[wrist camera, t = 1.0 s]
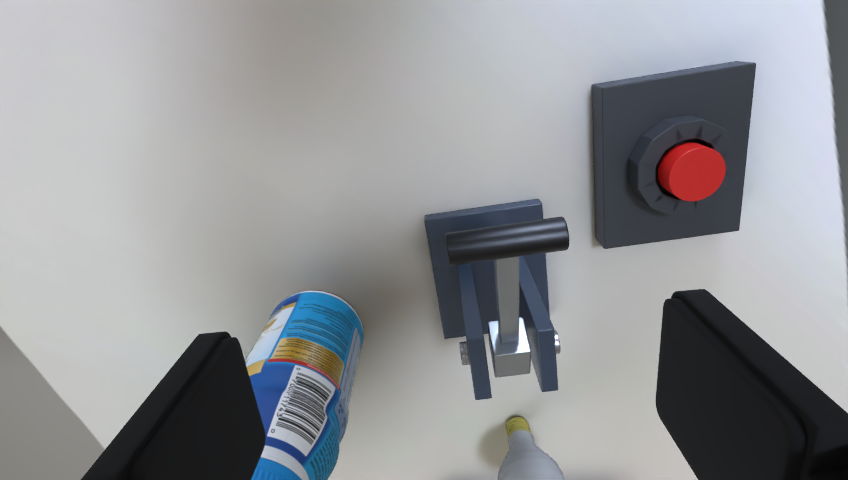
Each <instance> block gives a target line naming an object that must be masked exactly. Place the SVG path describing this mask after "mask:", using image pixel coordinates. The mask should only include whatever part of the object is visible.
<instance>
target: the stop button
mask: <svg viewBox="0 0 848 480" xmlns="http://www.w3.org/2000/svg"><path fill="white" fill-rule="evenodd" d="M725 172H726V166H725V161H724V159H723V157H722V156H721V155H720V154H719V153H718V152H717V151H715V150H714V149H711V148H709V147H706V146H704V145H701V144H699V143H695V142H686V143H681V144H679V145H676V146H675V147H673V148H671V149H670V150H669V151H668V152H667V153H666V154H665V155H664V156H663V158H662V159H661V161H660V164H659V167H658V179H659V182H660V184H661V185H662V187H663V188H664V189H666V190H667V191H669V192H670V193H672V194H673V195H675V196H676V197H678V198H679V199H682V200H685V201H698V200H702V199H704V198H706V197H708V196H710V195H711V194H713V193H714V192H715V191H716V190H717V189H718V188H719V186H720V185H721V183H722V182H723V179H724V177H725Z"/></svg>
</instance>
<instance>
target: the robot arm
mask: <svg viewBox="0 0 848 480" xmlns="http://www.w3.org/2000/svg"><path fill="white" fill-rule="evenodd" d="M656 408H657V412H658V414H659V417H660V419H661V420H662V422H663V424H664V425H665V427H666V429H667V430H668V432H669V433H670V435H671V437H672V438H673V440H674V441H675V443H676V445H677V446H678V448H679V449H680V451H681V453H682V454H683V456H684V457H685V459H686V461H687V462H688V464H689V465H690V467H691V469H692V470H693V472H694V473H695V475H696V477H697V478H698V480H848V413H847V412H846V411H844V410H843V409H842V408H841V407H840V406H839V405H837V404H836V403H835V402H834V401H833V400H832V399H831V398H829V397H828V396H827V395H826V394H825V393H824V392H823V391H821V390H820V389H819V388H818V387H817V386H816V385H815V384H813V383H812V382H811V381H810V380H809V379H808V378H807V377H805V376H804V375H803V374H802V373H801V372H800V371H799V370H797V369H796V368H795V367H794V366H793V365H792V364H790V363H789V362H788V361H787V360H786V359H785V358H784V357H782V356H781V355H780V354H779V353H778V352H777V351H776V350H774V349H773V348H772V347H771V346H770V345H769V344H768V343H766V342H765V341H764V340H763V339H762V338H761V337H760V336H758V335H757V334H756V333H755V332H754V331H753V330H751V329H750V328H749V327H748V326H747V325H746V324H745V323H743V322H742V321H741V320H740V319H739V318H738V317H737V316H735V315H734V314H733V313H732V312H731V311H730V310H729V309H727V308H726V307H725V306H724V305H723V304H722V303H721V302H719V301H718V300H717V299H716V298H715V297H714V296H713V295H711V294H710V293H709V292H708V291H706V290H705V289H699V290H687V291H676V292H674V293H673V295H672V297H671V299H666V300H665V302H664V306H663V318H662V330H661V342H660V354H659V366H658V378H657V391H656ZM265 440H266V435H265V429H264V426H263V422H262V419H261V415H260V412H259V408H258V405H257V402H256V398H255V395H254V391H253V388H252V384H251V381H250V377H249V374H248V371H247V367H246V364H245V360H244V357H243V353H242V350H241V346H240V343H239V341H238V339H237V338H235V337H232V338H231V336H230V334H229V333H228V332H216V333H205V334H199V335H198V336H197V337H196V338H195V339H194V341H193V342H192V343H191V344H190V346H189V347H188V348H187V349H186V351H185V352H184V353H183V354H182V355H181V357H180V358H179V359H178V360H177V362H176V363H175V364H174V365H173V367H172V368H171V369H170V370H169V372H168V373H167V374H166V375H165V376H164V378H163V379H162V380H161V381H160V383H159V384H158V385H157V386H156V388H155V389H154V390H153V391H152V392H151V394H150V395H149V396H148V397H147V399H146V400H145V401H144V402H143V404H142V405H141V406H140V407H139V409H138V410H137V411H136V412H135V413H134V415H133V416H132V417H131V418H130V420H129V421H128V422H127V423H126V425H125V426H124V427H123V428H122V430H121V431H120V432H119V433H118V434H117V436H116V437H115V438H114V439H113V441H112V442H111V443H110V444H109V446H108V447H107V448H106V449H105V451H104V452H103V453H102V454H101V456H100V457H99V458H98V459H97V460H96V462H95V463H94V464H93V465H92V467H91V468H90V469H89V470H88V472H87V473H86V474H85V475H84V477H83V478H82V479H81V480H251V479H252V476H253V474H254V472H255V469H256V467H257V464H258V462H259V459H260V457H261V455H262V452H263V450H264V447H265Z"/></svg>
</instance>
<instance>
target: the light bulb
mask: <svg viewBox="0 0 848 480" xmlns="http://www.w3.org/2000/svg"><path fill="white" fill-rule="evenodd" d="M506 429H507V433H508V442H509V447H510V450H509V452H508V454H507V456H506V457H505V459H504V461H503V463H502V465H501V467H500V470H499V473H498V480H564V476H563V473H562V471H561V469H560V468H559V466H558V464H557V463H556V462H555V461H554V460H553V459H552V458H551V457H550V456H549V455H548V454H547V453H545V452H544V451H542V450H541V449H540V448H539V447H537V446H536V445H535V443H534V439H533V435H532V434H531V432H530V428H529V424H528V422H527V421H526V420H525V419H524V418H521V417H514V418H512V419H510V420H509V421H508V422H507V424H506Z"/></svg>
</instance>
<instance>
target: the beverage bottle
mask: <svg viewBox="0 0 848 480" xmlns="http://www.w3.org/2000/svg"><path fill="white" fill-rule="evenodd" d="M362 343H363V327H362V323H361V320H360V318H359V316H358V314H357V313H356V311H355V310H354V309H353V308H352V307H351V306H350V305H349V304H348V303H347V302H346V301H344V300H343V299H341V298H339V297H338V296H336V295H333V294H330V293H327V292H323V291H303V292H299V293H296V294H293V295H291V296H289V297H287V298H286V299H284V300H283V301H282V302H281V303H280V304H279V305H278V306H277V307H276V308H275V310H274V311H273V313H272V315H271V317H270V319H269V321H268V323H267V325H266V327H265V329H264V330H263V332H262V334H261V335H260V337H259V339H258V341H257V342H256V344H255V346H254V348H253V349H252V351H251V353H250V354H249V356H248V358H247V360H246V361H245V364H246V367H247V371H248V374H249V377H250V381H251V384H252V388H253V391H254V395H255V398H256V402H257V405H258V408H259V412H260V415H261V419H262V422H263V426H264V429H265V435H266V440H265V447H264V450H263V452H262V455H261V457H260V459H259V462H258V464H257V467H256V469H255V472H254V474H253V476H252V479H251V480H327V479H328V478H329V476H330V474H331V473H332V471H333V469H334V467H335V465H336V462H337V459H338V455H339V444H340V442H341V440H342V438H343V436H344V433H345V430H346V426H347V422H348V413H349V411H348V406H349V401H350V396H351V391H352V387H353V382H354V377H355V372H356V367H357V363H358V358H359V354H360V351H361V347H362Z"/></svg>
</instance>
